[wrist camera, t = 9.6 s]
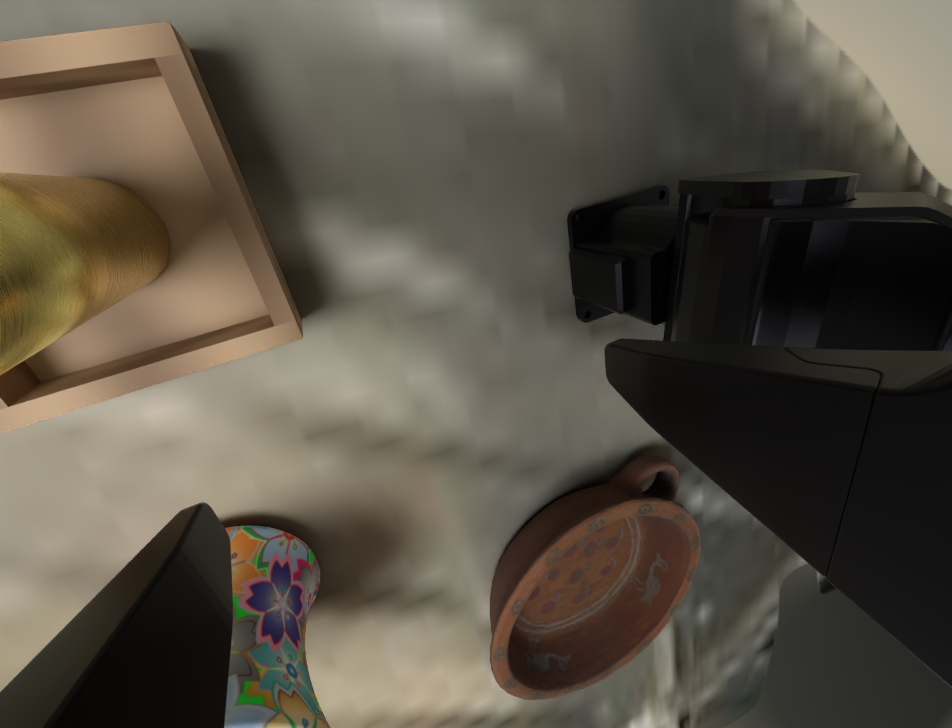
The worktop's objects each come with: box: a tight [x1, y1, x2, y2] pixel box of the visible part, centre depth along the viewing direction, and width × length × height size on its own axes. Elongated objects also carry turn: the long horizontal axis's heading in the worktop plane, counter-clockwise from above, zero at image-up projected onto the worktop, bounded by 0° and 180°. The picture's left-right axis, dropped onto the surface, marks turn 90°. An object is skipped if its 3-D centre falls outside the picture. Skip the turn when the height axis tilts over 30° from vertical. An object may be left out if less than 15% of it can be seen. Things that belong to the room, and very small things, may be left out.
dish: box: [490, 454, 701, 700], centre depth 32 cm, size 18×22×5 cm
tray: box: [0, 22, 303, 433], centre depth 15 cm, size 10×10×3 cm
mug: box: [224, 526, 330, 728], centre depth 19 cm, size 12×9×11 cm
